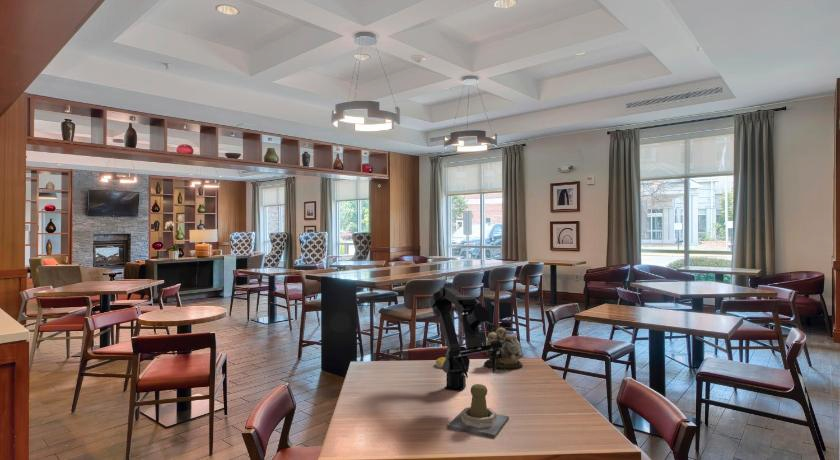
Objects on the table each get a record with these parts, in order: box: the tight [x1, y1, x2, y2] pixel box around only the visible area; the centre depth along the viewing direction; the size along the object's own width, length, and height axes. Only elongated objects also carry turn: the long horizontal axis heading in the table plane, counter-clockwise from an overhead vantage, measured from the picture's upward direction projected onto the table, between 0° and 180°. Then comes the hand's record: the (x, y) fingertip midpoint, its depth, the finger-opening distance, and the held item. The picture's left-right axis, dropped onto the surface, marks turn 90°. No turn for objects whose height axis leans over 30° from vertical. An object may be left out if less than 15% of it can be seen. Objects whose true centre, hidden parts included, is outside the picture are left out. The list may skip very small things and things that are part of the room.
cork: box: [470, 383, 488, 418], centre depth 148 cm, size 6×6×11 cm
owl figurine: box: [482, 327, 524, 371], centre depth 210 cm, size 18×12×17 cm, turn 93°
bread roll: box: [435, 356, 446, 369], centre depth 210 cm, size 8×9×4 cm
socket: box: [446, 406, 510, 439], centre depth 148 cm, size 15×15×4 cm
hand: (480, 375), depth 161 cm, fingers open, 9 cm apart
